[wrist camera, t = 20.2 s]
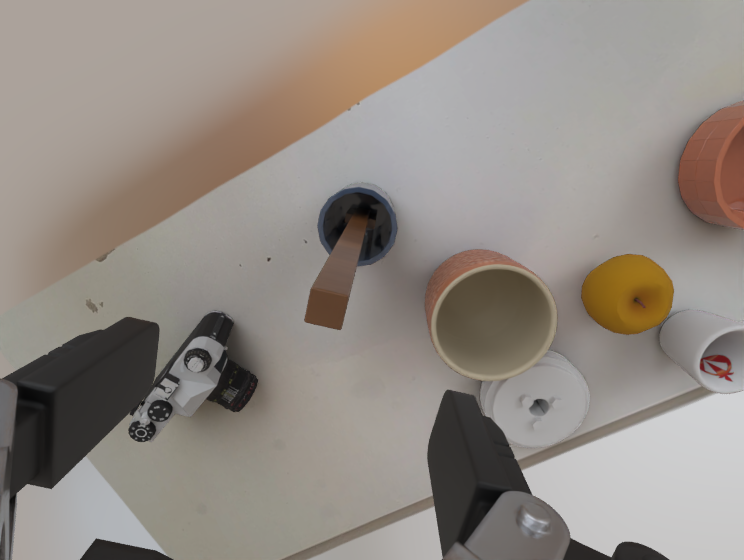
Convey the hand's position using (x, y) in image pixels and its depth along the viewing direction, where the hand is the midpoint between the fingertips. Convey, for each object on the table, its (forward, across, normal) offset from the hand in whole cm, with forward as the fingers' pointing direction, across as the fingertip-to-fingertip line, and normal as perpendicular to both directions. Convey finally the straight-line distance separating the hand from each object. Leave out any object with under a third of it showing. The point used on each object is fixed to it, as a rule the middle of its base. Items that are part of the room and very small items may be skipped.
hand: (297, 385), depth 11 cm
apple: (+39, -30, +1) cm, 49 cm away
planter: (+39, -15, +6) cm, 42 cm away
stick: (+38, 0, 0) cm, 38 cm away
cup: (+39, -43, +4) cm, 58 cm away
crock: (+39, 0, 0) cm, 39 cm away
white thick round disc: (+39, -26, +17) cm, 50 cm away
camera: (+39, +14, +24) cm, 48 cm away
